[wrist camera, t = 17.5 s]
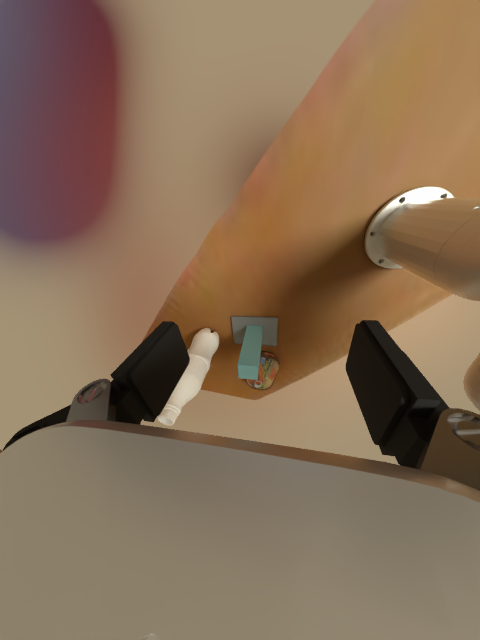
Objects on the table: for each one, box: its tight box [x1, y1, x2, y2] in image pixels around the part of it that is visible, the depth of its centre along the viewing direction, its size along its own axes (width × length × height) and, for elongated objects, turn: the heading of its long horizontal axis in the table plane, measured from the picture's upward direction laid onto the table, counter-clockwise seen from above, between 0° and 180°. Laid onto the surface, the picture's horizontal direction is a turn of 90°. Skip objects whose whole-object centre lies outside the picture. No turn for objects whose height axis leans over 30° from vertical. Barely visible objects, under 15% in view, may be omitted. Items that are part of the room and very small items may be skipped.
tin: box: [246, 352, 280, 390], centre depth 55 cm, size 15×3×8 cm
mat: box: [231, 316, 278, 346], centre depth 49 cm, size 12×9×1 cm
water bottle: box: [158, 328, 219, 426], centre depth 43 cm, size 7×7×25 cm
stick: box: [237, 325, 262, 380], centre depth 43 cm, size 4×4×14 cm
